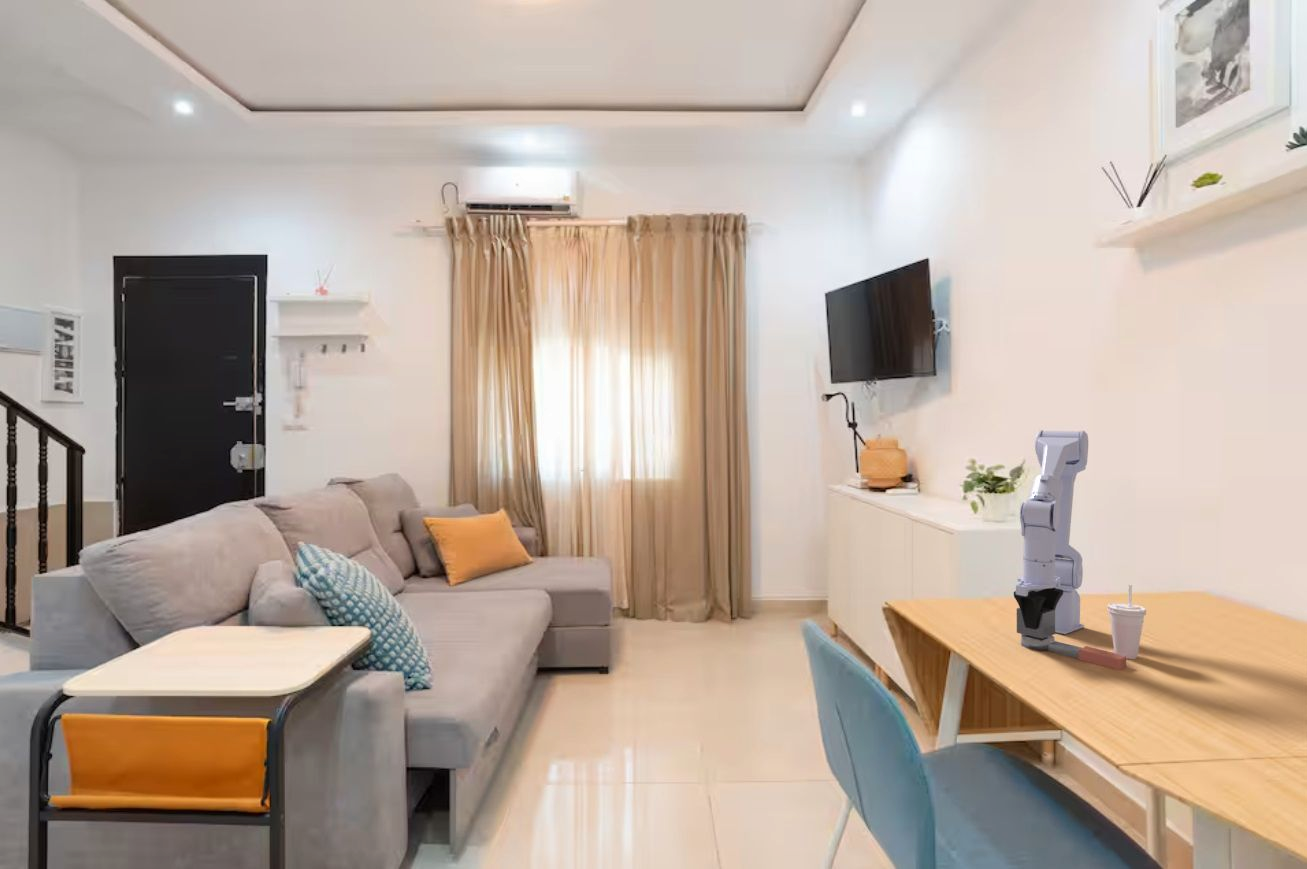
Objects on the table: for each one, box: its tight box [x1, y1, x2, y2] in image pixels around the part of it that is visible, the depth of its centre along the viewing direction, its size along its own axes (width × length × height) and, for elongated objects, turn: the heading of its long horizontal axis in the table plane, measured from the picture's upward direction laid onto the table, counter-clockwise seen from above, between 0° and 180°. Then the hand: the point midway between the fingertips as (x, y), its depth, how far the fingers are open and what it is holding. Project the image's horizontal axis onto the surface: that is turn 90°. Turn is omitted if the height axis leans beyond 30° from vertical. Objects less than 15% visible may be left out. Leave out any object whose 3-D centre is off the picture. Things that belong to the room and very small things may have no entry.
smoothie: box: [1106, 584, 1147, 660], centre depth 139 cm, size 6×6×14 cm
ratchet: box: [1020, 634, 1127, 671], centre depth 140 cm, size 18×6×5 cm, turn 36°
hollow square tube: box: [1016, 607, 1056, 639], centre depth 145 cm, size 5×5×5 cm
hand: (1038, 625), depth 145 cm, fingers closed on hollow square tube, 5 cm apart
